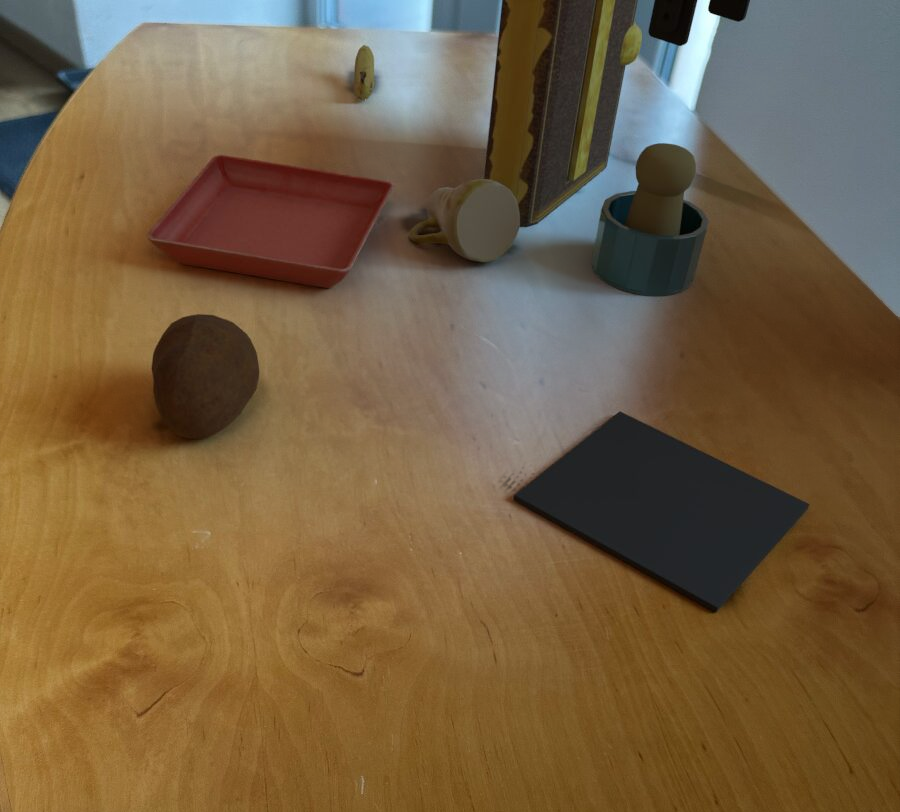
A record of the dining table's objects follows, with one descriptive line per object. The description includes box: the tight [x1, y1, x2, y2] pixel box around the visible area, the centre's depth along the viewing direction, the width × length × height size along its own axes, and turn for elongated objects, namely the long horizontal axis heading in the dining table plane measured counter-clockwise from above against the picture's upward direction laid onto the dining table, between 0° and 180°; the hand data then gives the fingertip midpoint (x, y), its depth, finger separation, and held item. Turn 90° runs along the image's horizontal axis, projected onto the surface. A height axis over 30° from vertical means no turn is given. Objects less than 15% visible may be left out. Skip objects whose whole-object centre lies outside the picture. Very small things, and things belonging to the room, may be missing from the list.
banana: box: [353, 44, 375, 101], centre depth 121 cm, size 10×2×4 cm, turn 1°
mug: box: [407, 178, 521, 263], centre depth 95 cm, size 8×10×10 cm
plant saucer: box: [146, 154, 395, 289], centre depth 93 cm, size 18×18×3 cm
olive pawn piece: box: [624, 142, 697, 236], centre depth 92 cm, size 6×6×11 cm
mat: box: [513, 411, 810, 613], centre depth 72 cm, size 16×14×1 cm
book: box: [483, 0, 643, 228], centre depth 99 cm, size 22×8×25 cm, turn 150°
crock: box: [591, 190, 710, 297], centre depth 94 cm, size 10×10×6 cm
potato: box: [151, 313, 260, 440], centre depth 72 cm, size 7×10×8 cm
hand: (697, 28), depth 81 cm, fingers open, 9 cm apart
